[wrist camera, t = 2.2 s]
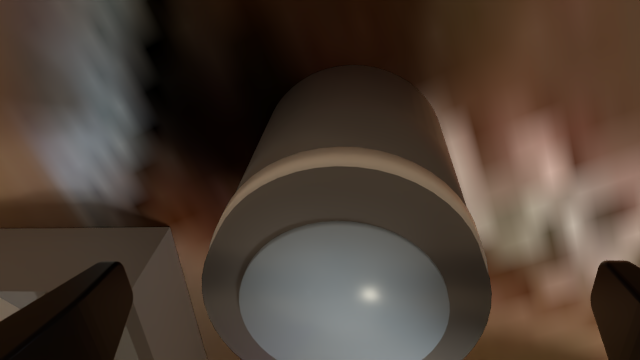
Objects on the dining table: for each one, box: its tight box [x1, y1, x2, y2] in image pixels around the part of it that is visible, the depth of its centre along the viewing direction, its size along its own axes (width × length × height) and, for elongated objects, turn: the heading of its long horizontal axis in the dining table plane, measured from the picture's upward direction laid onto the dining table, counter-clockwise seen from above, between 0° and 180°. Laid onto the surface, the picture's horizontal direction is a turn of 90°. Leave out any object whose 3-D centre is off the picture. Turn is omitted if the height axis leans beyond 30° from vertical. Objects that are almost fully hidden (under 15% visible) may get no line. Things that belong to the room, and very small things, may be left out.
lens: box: [202, 65, 492, 360], centre depth 11 cm, size 5×5×6 cm
